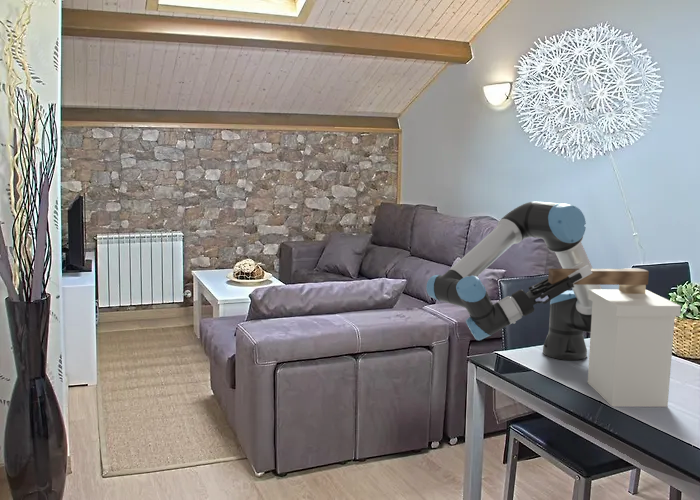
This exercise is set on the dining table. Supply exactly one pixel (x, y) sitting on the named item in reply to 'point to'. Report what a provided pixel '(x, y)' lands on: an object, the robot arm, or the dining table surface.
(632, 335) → the cream stand
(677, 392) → the dining table surface
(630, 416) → the dining table surface
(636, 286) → the birch offcut
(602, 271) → the walnut block
